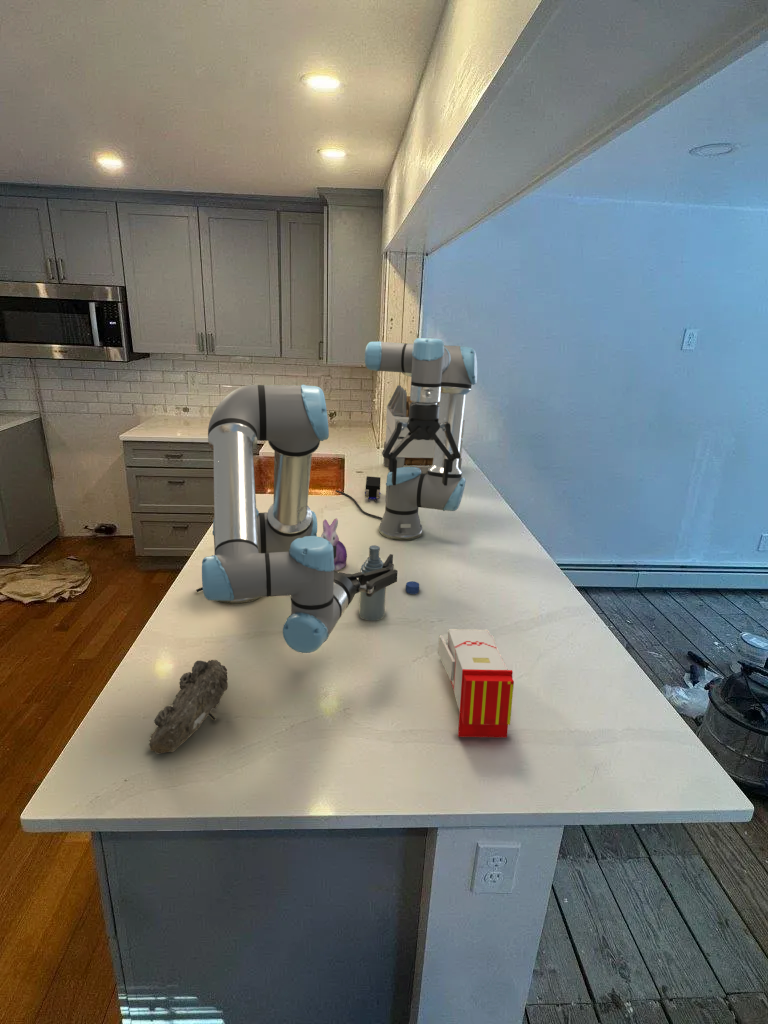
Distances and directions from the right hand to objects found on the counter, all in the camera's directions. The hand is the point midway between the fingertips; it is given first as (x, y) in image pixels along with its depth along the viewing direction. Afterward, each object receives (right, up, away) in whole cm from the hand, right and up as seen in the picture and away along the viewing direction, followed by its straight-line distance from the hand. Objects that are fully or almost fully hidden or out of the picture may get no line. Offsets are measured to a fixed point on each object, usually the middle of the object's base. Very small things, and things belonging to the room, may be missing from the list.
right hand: (419, 484), depth 149 cm
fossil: (-45, -46, -41) cm, 77 cm away
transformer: (+8, +11, +126) cm, 127 cm away
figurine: (-25, -24, +23) cm, 42 cm away
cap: (-1, -28, +10) cm, 30 cm away
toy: (+9, -45, -31) cm, 55 cm away
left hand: (-14, -17, -19) cm, 29 cm away
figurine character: (-14, -2, +87) cm, 88 cm away
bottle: (-12, -34, -2) cm, 36 cm away
